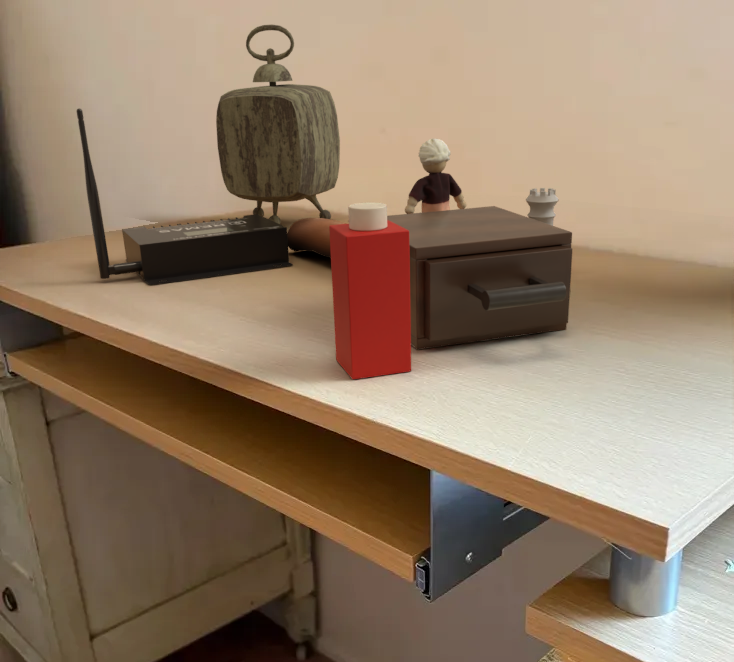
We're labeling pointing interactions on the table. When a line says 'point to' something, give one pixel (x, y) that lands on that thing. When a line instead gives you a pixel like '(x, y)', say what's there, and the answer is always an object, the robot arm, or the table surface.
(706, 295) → the table surface
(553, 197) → the rook chess piece
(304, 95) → the tabletop clock
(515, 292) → the drawer
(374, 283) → the ketchup bottle
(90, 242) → the table surface
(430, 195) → the grandmother figurine
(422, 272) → the cabinet
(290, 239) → the sunglasses case
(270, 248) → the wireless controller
